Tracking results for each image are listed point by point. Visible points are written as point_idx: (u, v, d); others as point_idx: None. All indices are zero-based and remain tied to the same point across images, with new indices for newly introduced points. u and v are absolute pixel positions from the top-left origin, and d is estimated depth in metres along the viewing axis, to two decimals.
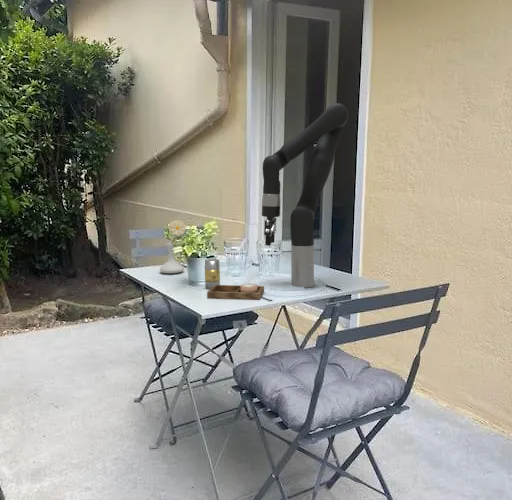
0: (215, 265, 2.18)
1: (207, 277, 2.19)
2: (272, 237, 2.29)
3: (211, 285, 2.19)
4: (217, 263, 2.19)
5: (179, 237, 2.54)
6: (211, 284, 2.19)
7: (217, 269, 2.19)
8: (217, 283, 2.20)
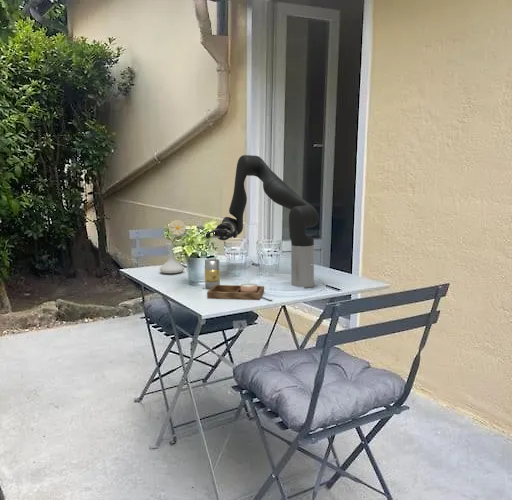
0: (215, 265, 2.18)
1: (207, 277, 2.19)
2: None
3: (211, 285, 2.19)
4: (217, 263, 2.19)
5: (179, 237, 2.54)
6: (211, 284, 2.19)
7: (217, 269, 2.19)
8: (217, 283, 2.20)
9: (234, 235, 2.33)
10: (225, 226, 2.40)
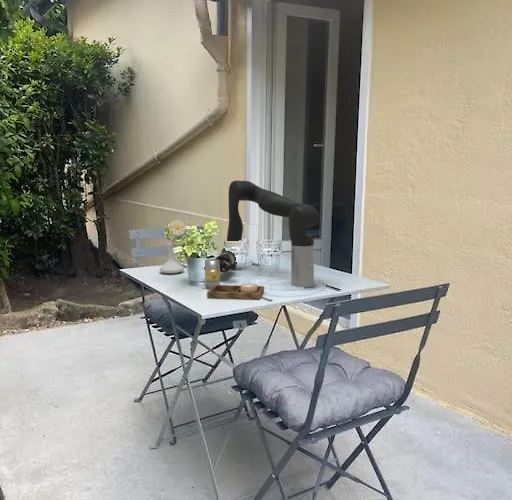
0: (215, 265, 2.18)
1: (207, 277, 2.19)
2: None
3: (211, 285, 2.19)
4: (217, 263, 2.19)
5: (179, 237, 2.54)
6: (211, 284, 2.19)
7: (217, 269, 2.19)
8: (217, 283, 2.20)
9: (233, 267, 2.31)
10: (224, 258, 2.38)
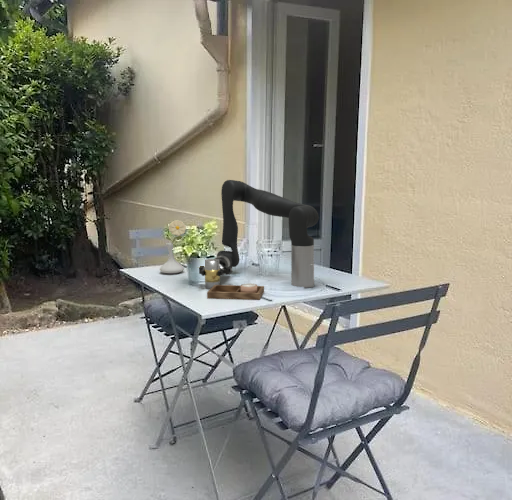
0: (215, 265, 2.18)
1: (207, 277, 2.19)
2: None
3: (211, 285, 2.19)
4: (217, 263, 2.19)
5: (179, 237, 2.54)
6: (211, 284, 2.19)
7: (217, 269, 2.19)
8: (217, 283, 2.20)
9: (226, 272, 2.22)
10: (220, 261, 2.30)
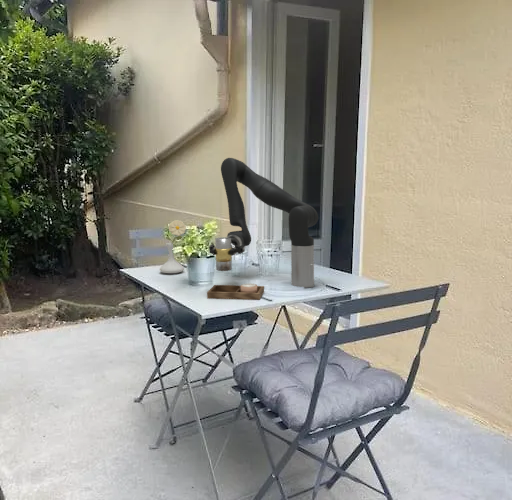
0: (227, 243, 2.05)
1: (218, 256, 2.06)
2: None
3: (222, 265, 2.06)
4: (229, 241, 2.05)
5: (179, 237, 2.54)
6: (223, 264, 2.06)
7: (229, 248, 2.06)
8: (229, 262, 2.07)
9: (238, 251, 2.09)
10: (231, 240, 2.17)
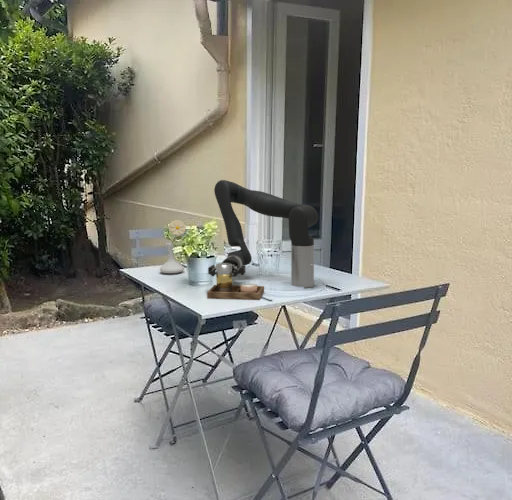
0: (227, 269, 2.06)
1: (219, 282, 2.07)
2: None
3: (223, 290, 2.07)
4: (229, 267, 2.07)
5: (179, 237, 2.54)
6: (223, 290, 2.07)
7: (230, 274, 2.08)
8: (230, 288, 2.08)
9: (242, 272, 2.11)
10: (232, 261, 2.18)
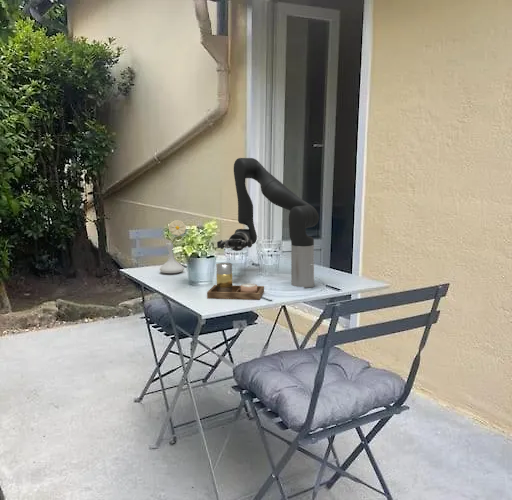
0: (228, 269, 2.07)
1: (219, 282, 2.07)
2: None
3: (223, 290, 2.07)
4: (230, 267, 2.07)
5: (179, 237, 2.54)
6: (223, 289, 2.07)
7: (230, 273, 2.08)
8: (230, 288, 2.08)
9: (249, 244, 2.24)
10: (239, 236, 2.31)
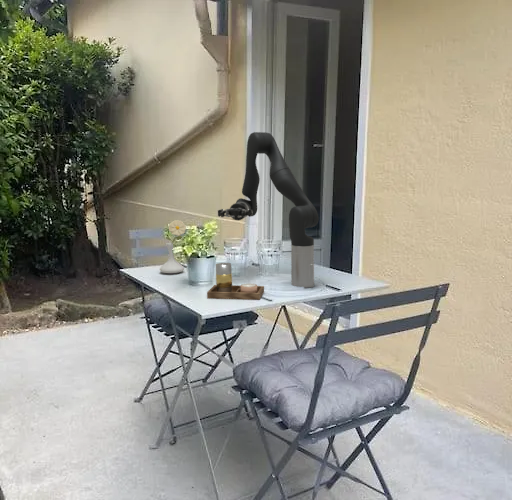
0: (227, 269, 2.06)
1: (219, 282, 2.07)
2: None
3: (223, 290, 2.07)
4: (229, 267, 2.07)
5: (179, 237, 2.54)
6: (223, 290, 2.07)
7: (230, 273, 2.07)
8: (230, 288, 2.08)
9: (249, 214, 2.26)
10: (240, 205, 2.33)
